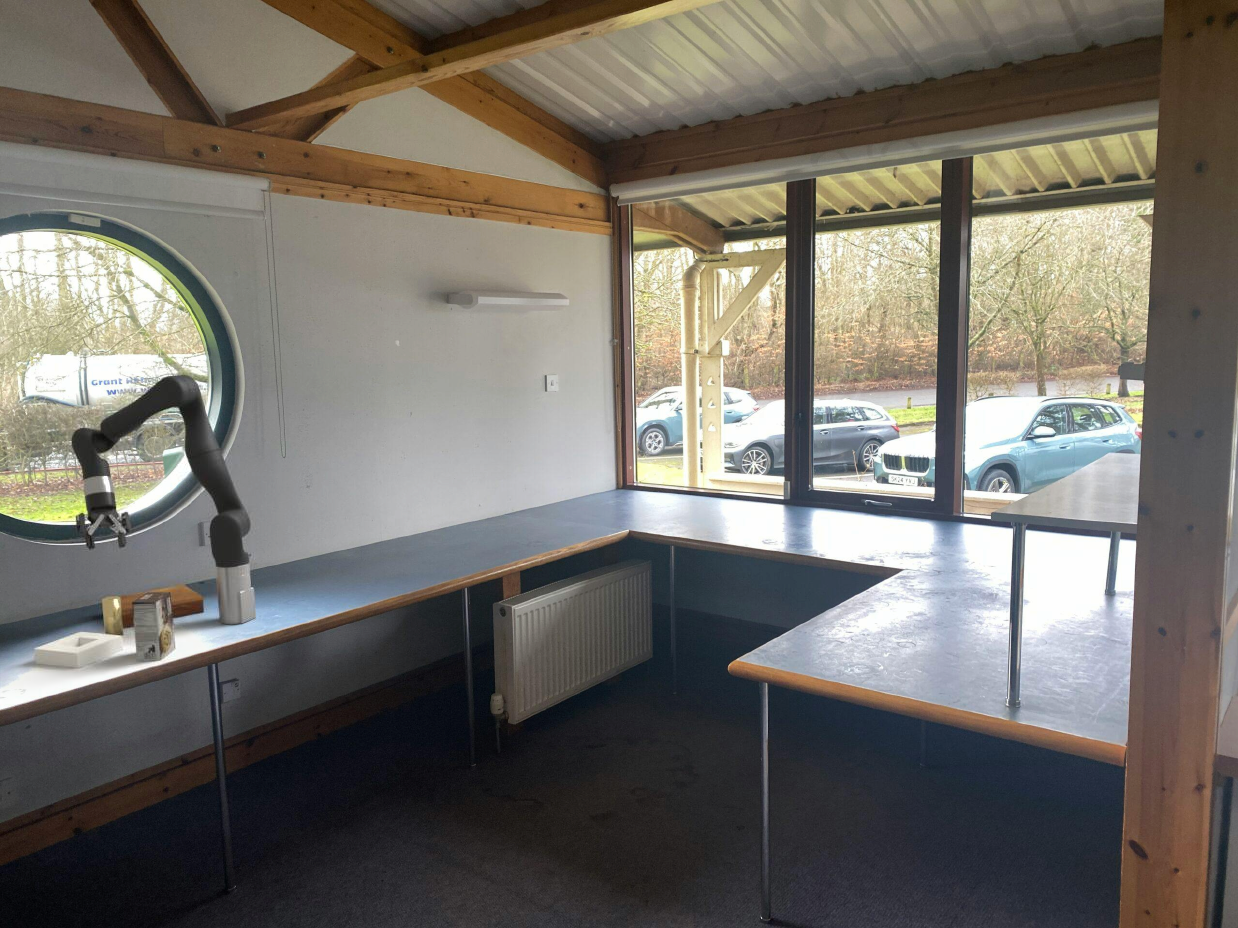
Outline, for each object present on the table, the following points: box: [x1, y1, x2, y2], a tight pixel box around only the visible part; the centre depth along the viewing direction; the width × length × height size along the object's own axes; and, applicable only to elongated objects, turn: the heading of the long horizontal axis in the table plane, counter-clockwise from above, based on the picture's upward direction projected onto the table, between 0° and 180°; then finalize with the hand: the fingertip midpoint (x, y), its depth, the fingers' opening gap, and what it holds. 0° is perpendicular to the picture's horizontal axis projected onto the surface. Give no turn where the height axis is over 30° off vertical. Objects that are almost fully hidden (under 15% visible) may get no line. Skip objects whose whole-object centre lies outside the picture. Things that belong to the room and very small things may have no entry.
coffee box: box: [132, 592, 176, 662], centre depth 229 cm, size 9×6×16 cm
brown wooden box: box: [118, 584, 205, 629], centre depth 266 cm, size 23×19×6 cm
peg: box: [101, 595, 125, 637], centre depth 246 cm, size 4×4×11 cm
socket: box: [33, 631, 124, 669], centre depth 229 cm, size 14×14×4 cm
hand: (107, 547), depth 250 cm, fingers open, 8 cm apart
